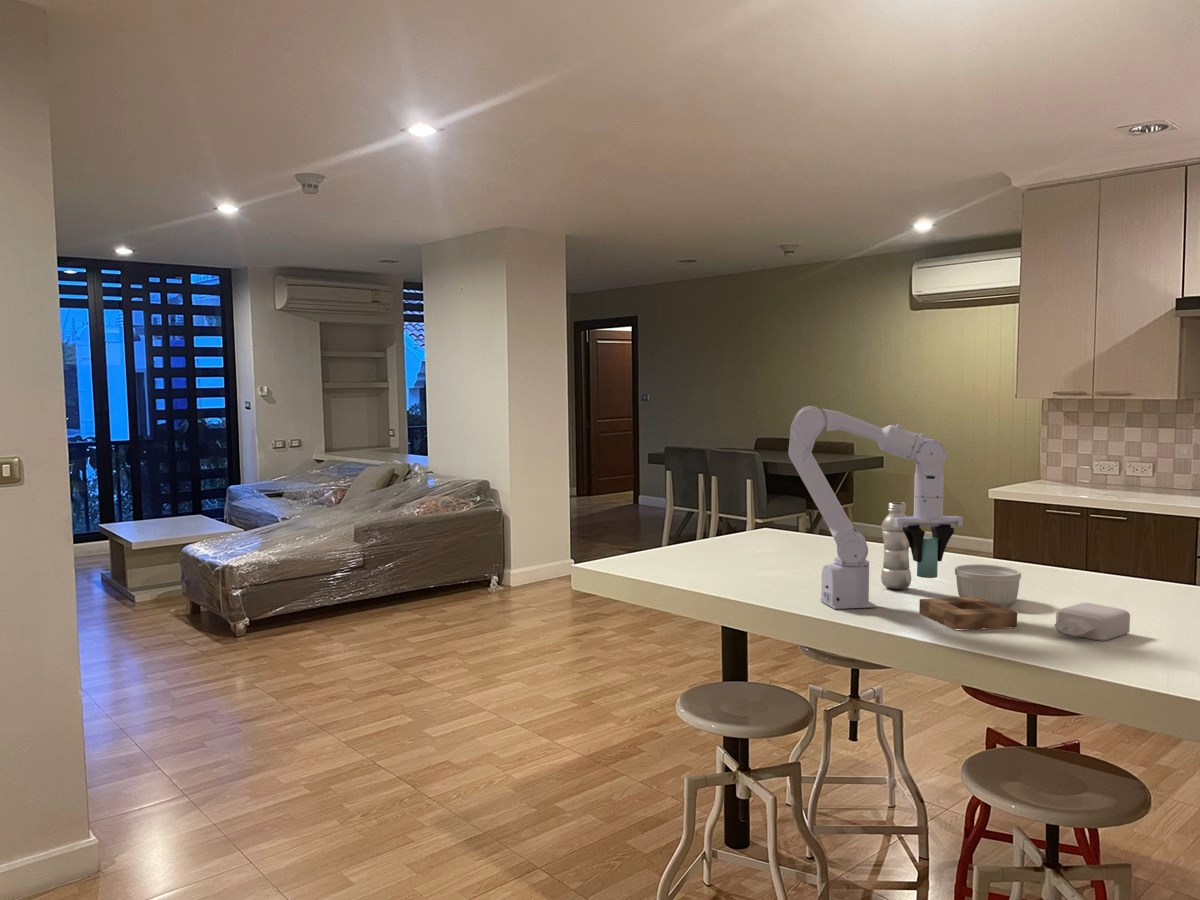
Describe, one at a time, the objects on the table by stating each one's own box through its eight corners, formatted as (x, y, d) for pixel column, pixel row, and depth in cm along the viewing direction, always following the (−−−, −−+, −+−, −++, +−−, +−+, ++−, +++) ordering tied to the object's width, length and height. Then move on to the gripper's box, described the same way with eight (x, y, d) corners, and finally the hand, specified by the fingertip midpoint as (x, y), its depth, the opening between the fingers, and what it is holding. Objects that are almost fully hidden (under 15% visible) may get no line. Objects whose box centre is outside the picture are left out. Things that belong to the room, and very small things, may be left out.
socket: (954, 630, 163) (954, 614, 162) (919, 613, 175) (919, 599, 175) (1016, 627, 164) (1017, 612, 164) (977, 611, 177) (978, 596, 177)
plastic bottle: (913, 592, 195) (914, 505, 194) (882, 591, 196) (883, 504, 195) (908, 586, 201) (910, 502, 200) (878, 585, 202) (880, 501, 201)
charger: (1038, 637, 159) (1078, 624, 167) (1090, 649, 151) (1129, 635, 160) (1039, 612, 158) (1079, 601, 167) (1090, 622, 151) (1130, 610, 159)
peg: (923, 578, 177) (923, 540, 176) (913, 574, 181) (914, 537, 180) (941, 577, 177) (941, 539, 177) (930, 573, 181) (931, 536, 181)
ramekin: (942, 600, 188) (943, 568, 187) (971, 591, 196) (972, 561, 196) (1003, 611, 177) (1004, 578, 177) (1031, 601, 186) (1032, 570, 186)
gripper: (905, 499, 173) (904, 565, 174) (971, 497, 175) (970, 563, 176) (889, 495, 180) (887, 559, 181) (952, 494, 182) (951, 557, 183)
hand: (927, 560), depth 179 cm, fingers closed on peg, 4 cm apart
